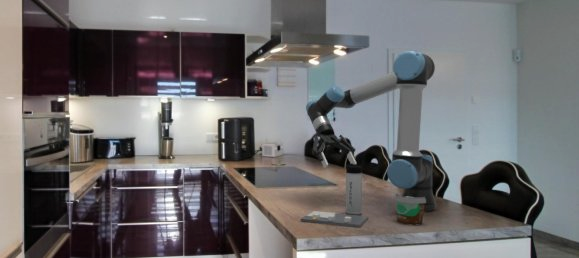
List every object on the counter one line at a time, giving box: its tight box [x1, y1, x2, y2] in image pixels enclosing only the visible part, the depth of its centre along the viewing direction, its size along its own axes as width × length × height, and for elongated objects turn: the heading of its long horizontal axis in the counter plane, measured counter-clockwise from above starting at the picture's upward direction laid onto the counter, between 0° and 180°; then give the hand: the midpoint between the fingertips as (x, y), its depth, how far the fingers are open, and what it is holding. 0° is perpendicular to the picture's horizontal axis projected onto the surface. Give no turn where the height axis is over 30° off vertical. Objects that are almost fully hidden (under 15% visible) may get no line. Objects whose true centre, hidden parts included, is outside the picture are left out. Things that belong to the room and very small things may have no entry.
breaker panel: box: [300, 210, 369, 228], centre depth 161 cm, size 22×14×2 cm, turn 68°
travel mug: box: [345, 163, 363, 216], centre depth 171 cm, size 6×7×20 cm
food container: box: [393, 192, 426, 226], centre depth 158 cm, size 12×6×10 cm, turn 45°
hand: (340, 166), depth 179 cm, fingers open, 13 cm apart
